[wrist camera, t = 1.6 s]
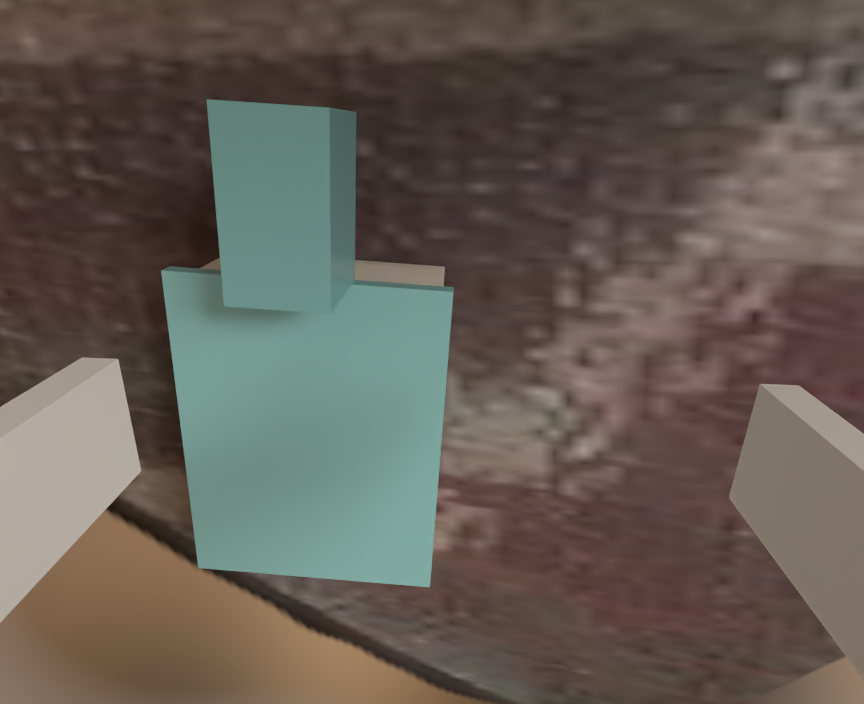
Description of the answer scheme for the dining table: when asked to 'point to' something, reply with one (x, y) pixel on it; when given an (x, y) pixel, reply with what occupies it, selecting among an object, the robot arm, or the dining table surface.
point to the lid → (304, 366)
